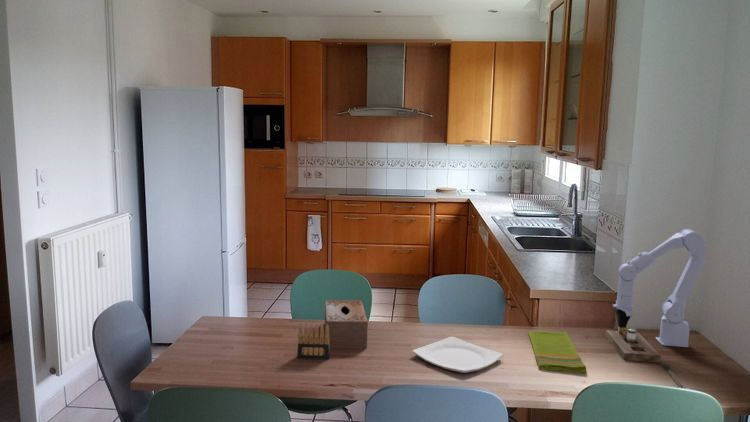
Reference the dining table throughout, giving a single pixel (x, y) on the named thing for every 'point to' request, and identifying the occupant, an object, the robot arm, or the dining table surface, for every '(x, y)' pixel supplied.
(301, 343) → the ammunition clip
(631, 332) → the peg
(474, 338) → the dining table surface
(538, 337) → the dish towel
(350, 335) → the tissue box cover
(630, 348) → the board
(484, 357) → the plate
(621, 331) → the key
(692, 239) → the robot arm
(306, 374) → the dining table surface
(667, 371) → the tactical tomahawk
